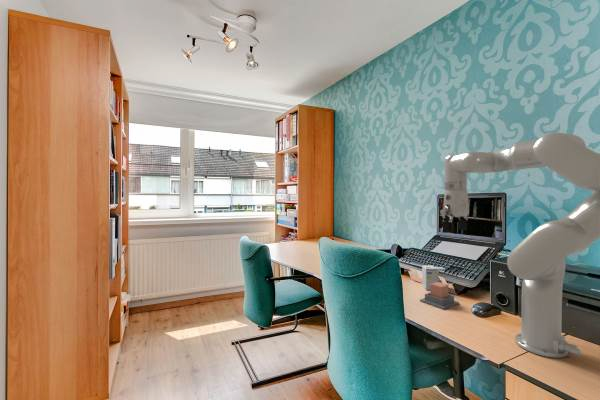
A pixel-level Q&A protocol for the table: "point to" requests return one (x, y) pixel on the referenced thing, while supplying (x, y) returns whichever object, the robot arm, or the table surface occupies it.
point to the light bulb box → (430, 275)
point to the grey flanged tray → (439, 301)
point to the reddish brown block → (439, 290)
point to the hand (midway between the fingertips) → (455, 231)
